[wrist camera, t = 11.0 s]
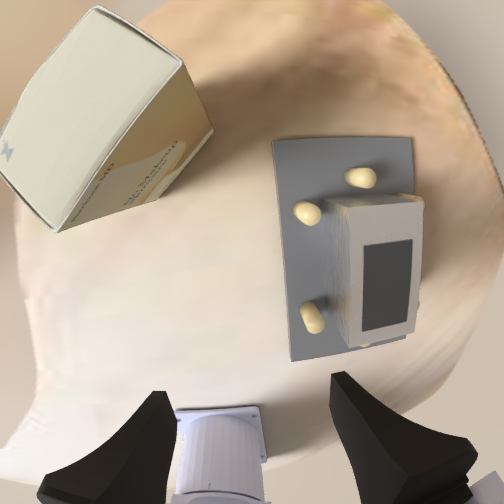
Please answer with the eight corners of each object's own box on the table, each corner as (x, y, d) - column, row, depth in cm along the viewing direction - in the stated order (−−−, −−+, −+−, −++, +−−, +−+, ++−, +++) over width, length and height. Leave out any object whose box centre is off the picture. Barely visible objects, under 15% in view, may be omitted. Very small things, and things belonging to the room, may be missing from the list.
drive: (381, 300, 21) (414, 332, 16) (326, 310, 21) (349, 348, 16) (382, 193, 19) (423, 201, 14) (321, 198, 18) (349, 207, 14)
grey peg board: (401, 333, 23) (419, 353, 19) (289, 356, 22) (296, 382, 19) (404, 139, 18) (430, 135, 15) (271, 142, 18) (277, 136, 15)
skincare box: (156, 202, 19) (52, 249, 7) (112, 163, 18) (-19, 167, 6) (220, 127, 18) (191, 59, 6) (172, 89, 17) (92, -1, 5)
